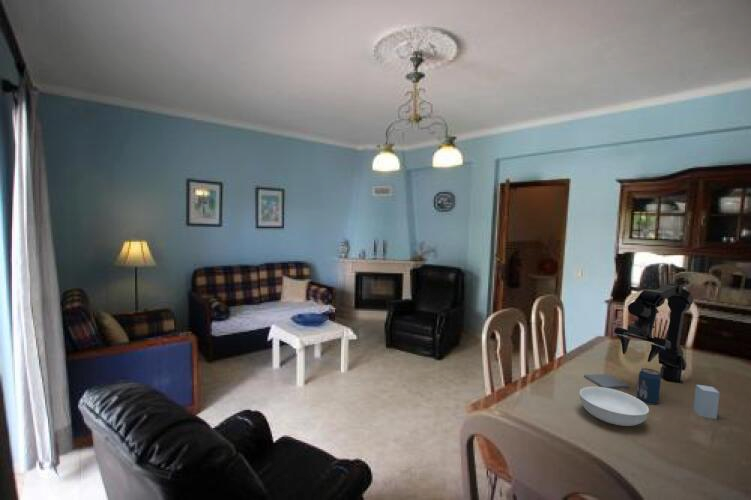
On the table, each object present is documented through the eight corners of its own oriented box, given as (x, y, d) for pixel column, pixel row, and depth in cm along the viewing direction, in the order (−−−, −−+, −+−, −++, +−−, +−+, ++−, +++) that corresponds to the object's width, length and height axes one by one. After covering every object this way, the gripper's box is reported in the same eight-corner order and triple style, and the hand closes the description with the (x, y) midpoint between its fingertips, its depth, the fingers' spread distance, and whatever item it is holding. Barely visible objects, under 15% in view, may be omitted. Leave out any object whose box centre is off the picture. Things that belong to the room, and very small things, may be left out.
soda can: (657, 399, 149) (660, 370, 148) (659, 406, 143) (662, 376, 142) (636, 394, 153) (639, 366, 152) (637, 401, 147) (640, 371, 146)
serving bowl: (649, 442, 120) (651, 421, 119) (575, 421, 131) (577, 402, 130) (644, 414, 138) (646, 396, 137) (580, 398, 149) (581, 381, 148)
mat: (607, 375, 171) (607, 373, 171) (629, 387, 159) (629, 385, 159) (583, 376, 169) (583, 374, 169) (604, 389, 157) (604, 386, 157)
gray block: (693, 410, 142) (696, 384, 141) (709, 412, 140) (712, 387, 139) (699, 416, 137) (702, 390, 136) (716, 419, 135) (719, 392, 134)
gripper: (612, 311, 157) (602, 347, 156) (663, 322, 141) (653, 363, 140) (624, 316, 163) (615, 351, 162) (676, 328, 147) (665, 367, 146)
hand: (635, 357), depth 152 cm, fingers open, 9 cm apart
